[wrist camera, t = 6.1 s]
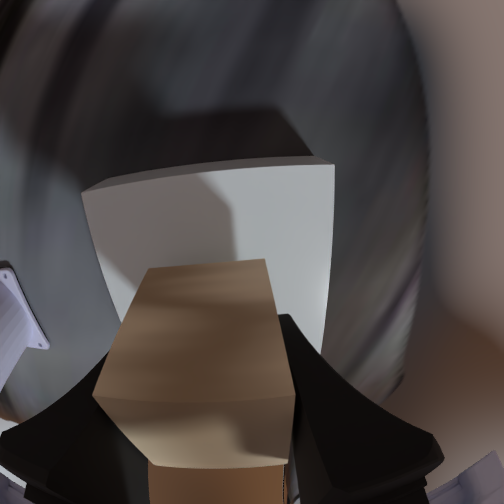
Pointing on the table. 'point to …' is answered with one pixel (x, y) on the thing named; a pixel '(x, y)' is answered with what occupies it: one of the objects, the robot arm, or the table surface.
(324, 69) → the table surface
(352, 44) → the table surface
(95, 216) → the ceramic box
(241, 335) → the beech block
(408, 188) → the table surface
